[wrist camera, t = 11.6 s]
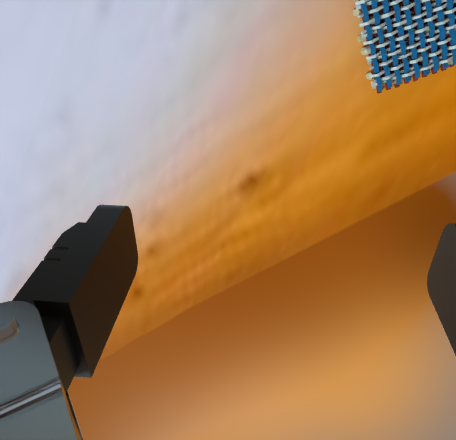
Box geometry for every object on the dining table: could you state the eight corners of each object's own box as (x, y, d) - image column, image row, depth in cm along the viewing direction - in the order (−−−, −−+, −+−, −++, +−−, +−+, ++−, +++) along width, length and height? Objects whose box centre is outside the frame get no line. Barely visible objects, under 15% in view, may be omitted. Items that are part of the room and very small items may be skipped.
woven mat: (367, 94, 39) (373, 100, 37) (341, -28, 34) (346, -28, 32) (487, 52, 36) (498, 56, 35) (478, -87, 31) (491, -90, 30)
